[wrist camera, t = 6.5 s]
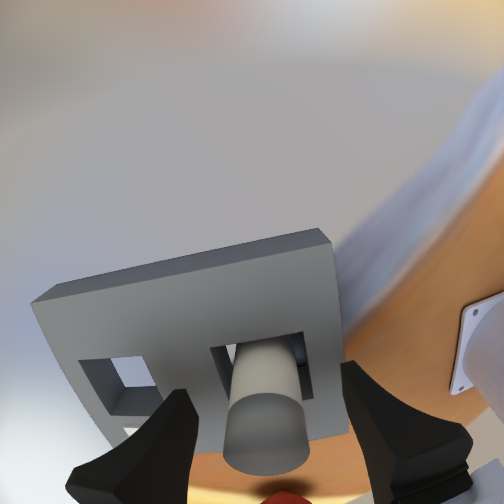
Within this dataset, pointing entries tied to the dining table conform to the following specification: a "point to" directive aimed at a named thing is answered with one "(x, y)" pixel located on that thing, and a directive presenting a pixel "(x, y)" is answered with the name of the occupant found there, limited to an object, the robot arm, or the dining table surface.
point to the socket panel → (200, 331)
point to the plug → (265, 410)
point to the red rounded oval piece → (285, 498)
